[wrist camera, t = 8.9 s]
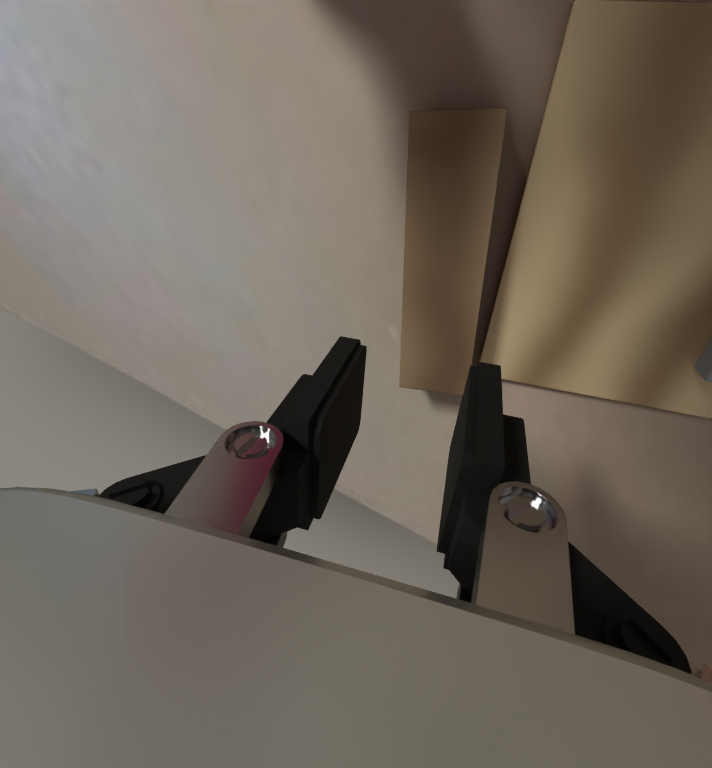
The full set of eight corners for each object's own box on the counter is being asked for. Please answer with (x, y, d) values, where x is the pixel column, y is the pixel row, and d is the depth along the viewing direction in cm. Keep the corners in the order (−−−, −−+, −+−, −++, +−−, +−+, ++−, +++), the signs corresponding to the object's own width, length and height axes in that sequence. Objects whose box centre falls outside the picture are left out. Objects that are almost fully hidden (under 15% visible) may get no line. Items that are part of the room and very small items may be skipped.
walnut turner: (409, 357, 28) (399, 387, 25) (422, 113, 21) (409, 111, 18) (470, 363, 28) (467, 395, 24) (505, 110, 20) (507, 108, 17)
